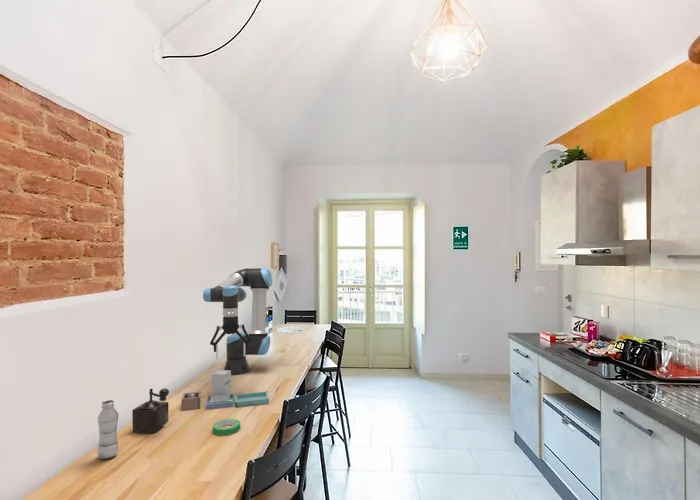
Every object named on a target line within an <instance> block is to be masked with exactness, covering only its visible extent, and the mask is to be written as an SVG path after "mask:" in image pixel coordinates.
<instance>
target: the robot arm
mask: <svg viewBox="0 0 700 500" xmlns="http://www.w3.org/2000/svg"><path fill="white" fill-rule="evenodd" d="M272 286H273V275H272V271H271V270H270V269H268V268H265V267H264V268H262V267H261V268H258V267H257V268H256V267H255V268H242V269H239V270H236V271H234V272H232V273H231V274H229V276H228V277H227V278H226V279H225V280H223V281H222V282H221V283H219V284H218V285H216V286H214V287H207V288H205V289H204V290H203V292H202V298H203V301H204V302H207V303H222V316H223V317H222V325H217V326H216V330H215V332H214V334H213V336H212V338H211V341H210V342H209V344H210V345H211V346H212V347H213V352H214V353H215V359H216V360H217V359H219V358H218V357H219V348H218V347H219V344H218V343H219V342H220V341H221V340H222V339H223V337H224V336H225V335H228V336H227V338H226V343H225V345H226V360H225V363H224V364H225V365H224V367H223V370H229V371H231V376H235V375H242V374H246V373H248V372H249V371H250V366H249V363H248V359H247V356H265V355H267V354H268V353H269V350H270V346H271V337H270V335H268V331H266V320H267V319H266V318H267V316H266V314H267V293H268V291H269V290H270V288H271V287H272ZM244 287H250V290H251V291H252V302H251V330H250V331H249V332H248V331H247V330H246V327H245V324H244V323H242V324H239V316H238V315H239V303H241V302H243V301H244V300H245V299H246V298H247V295H248V294H247V291H246V289H245V288H244ZM239 328H240V329H241V330H242V331H243V332H240V331H239ZM221 329H222V330H223V332H222V333H221V334H220V335H219V336H218V334H219V331H221ZM217 336H218V338H217ZM216 338H217V339H216Z"/></svg>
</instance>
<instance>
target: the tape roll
mask: <svg viewBox="0 0 700 500" xmlns="http://www.w3.org/2000/svg"><path fill="white" fill-rule="evenodd" d="M226 425H233V426H229V427H227V426H226ZM222 426H223V427H222ZM220 427H221V428H220ZM240 429H241V421H240V420H239V419H236V418H227V419H226V418H225V419H219V421H216V422H215V423H213V425H212V434H214V435H215V434H217V435H216V436H220V435H225V436H230V435H229V434H231V435H234V434H236V433H237V432H239V431H241V430H240ZM233 433H234V434H233Z"/></svg>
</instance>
